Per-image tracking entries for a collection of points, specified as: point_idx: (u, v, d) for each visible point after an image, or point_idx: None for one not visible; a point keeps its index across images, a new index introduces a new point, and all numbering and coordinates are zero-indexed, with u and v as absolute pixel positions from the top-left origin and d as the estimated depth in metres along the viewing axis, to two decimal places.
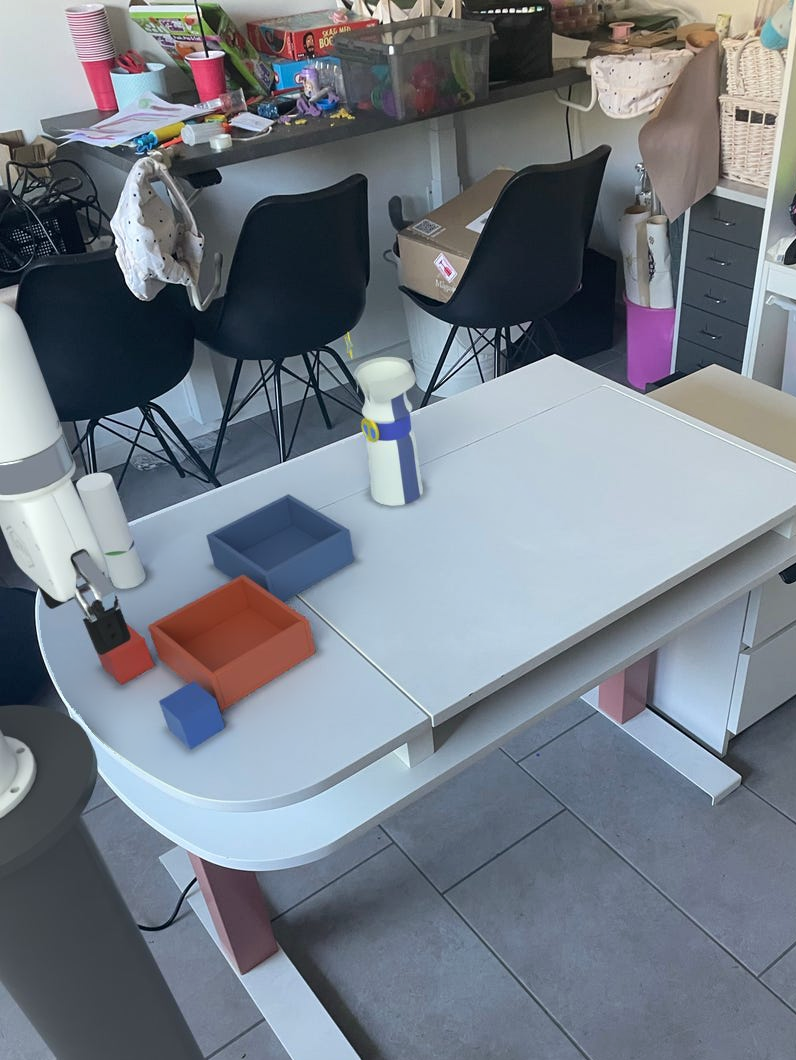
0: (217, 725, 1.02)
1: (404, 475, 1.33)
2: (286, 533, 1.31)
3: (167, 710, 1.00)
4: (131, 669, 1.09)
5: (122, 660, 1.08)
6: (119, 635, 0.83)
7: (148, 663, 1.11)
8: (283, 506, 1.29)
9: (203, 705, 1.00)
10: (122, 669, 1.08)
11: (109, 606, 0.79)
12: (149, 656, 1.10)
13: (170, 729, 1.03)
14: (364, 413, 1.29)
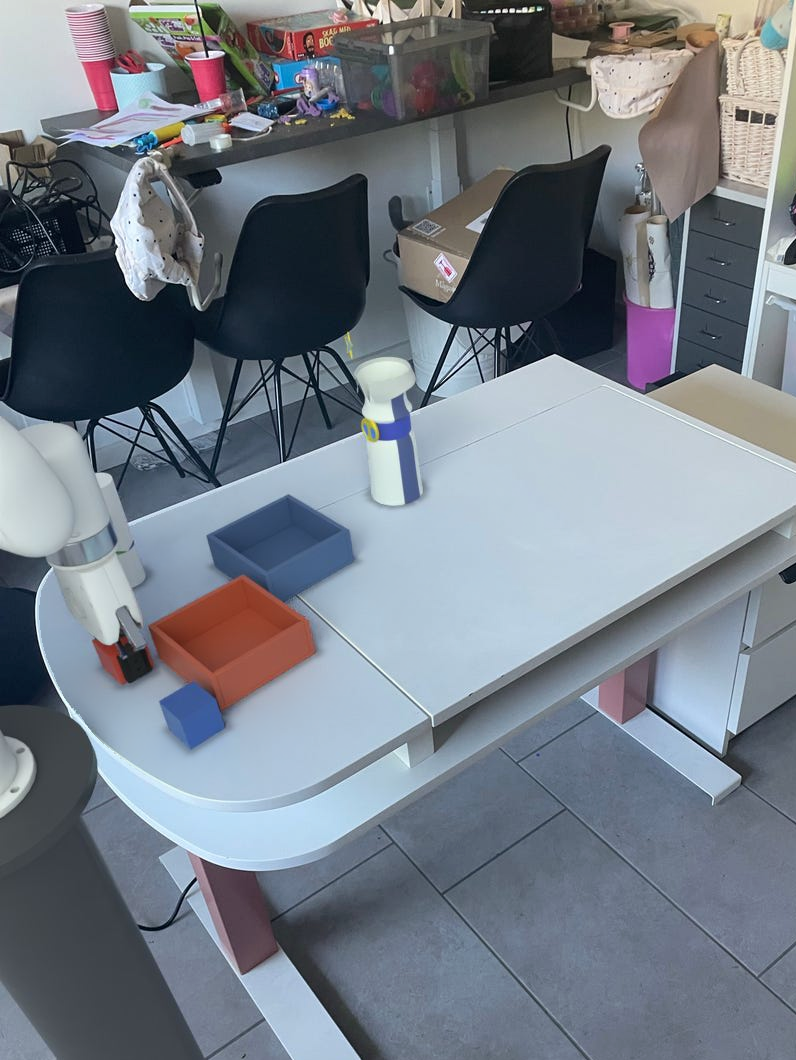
0: (217, 725, 1.02)
1: (404, 475, 1.33)
2: (286, 533, 1.31)
3: (167, 710, 1.00)
4: None
5: None
6: (143, 668, 1.09)
7: None
8: (283, 506, 1.29)
9: (203, 705, 1.00)
10: None
11: None
12: (149, 656, 1.10)
13: (170, 729, 1.03)
14: (364, 413, 1.29)
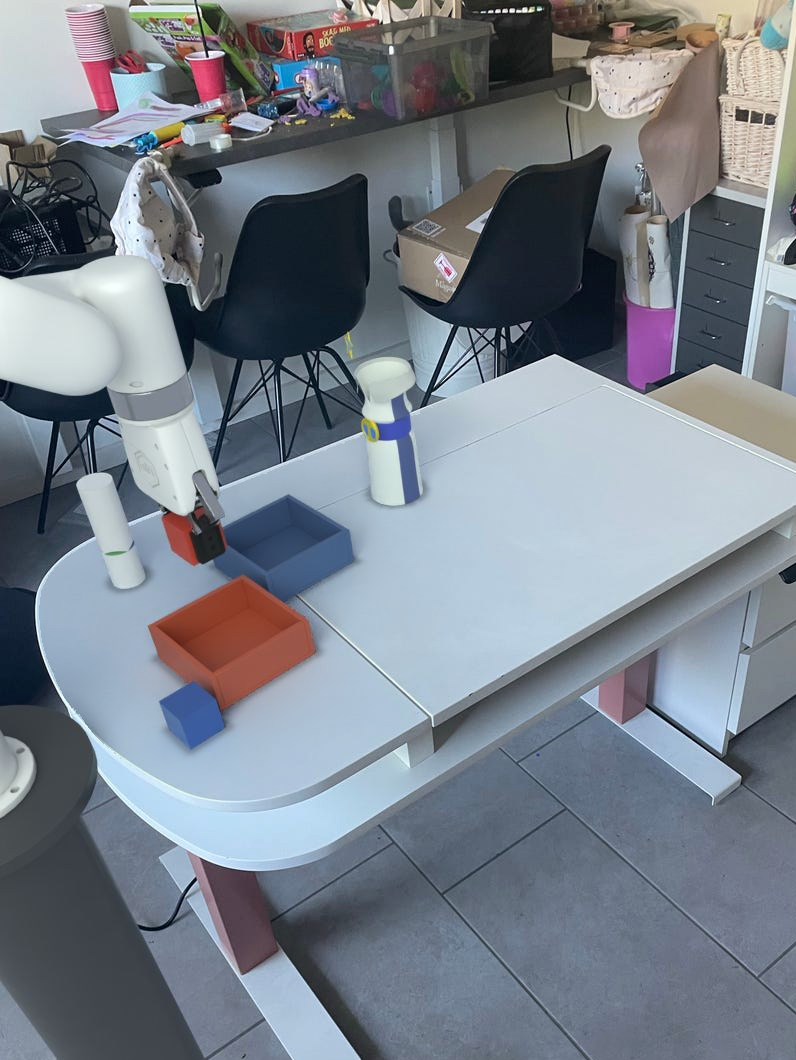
0: (217, 725, 1.02)
1: (404, 475, 1.33)
2: (286, 533, 1.31)
3: (167, 710, 1.00)
4: None
5: None
6: (217, 547, 0.99)
7: None
8: (283, 506, 1.29)
9: (203, 705, 1.00)
10: None
11: (214, 522, 0.95)
12: (223, 536, 1.01)
13: (170, 729, 1.03)
14: (364, 413, 1.29)
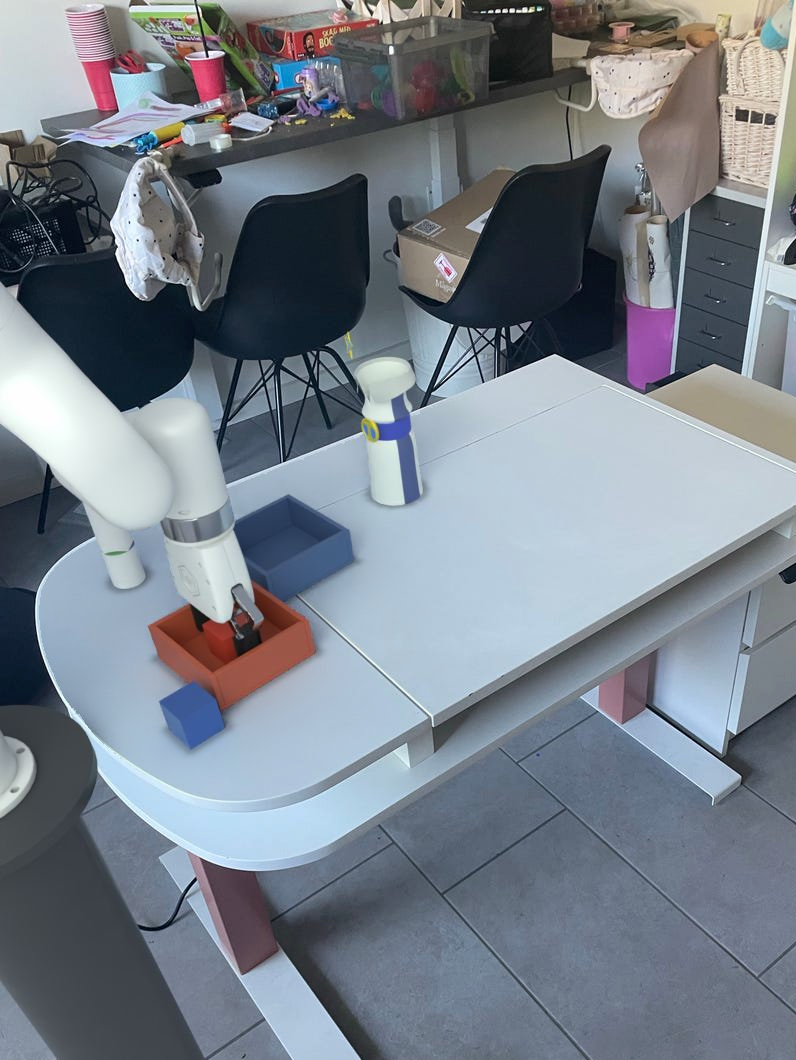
0: (217, 725, 1.02)
1: (404, 475, 1.33)
2: (286, 533, 1.31)
3: (167, 710, 1.00)
4: None
5: (233, 644, 1.08)
6: None
7: None
8: (283, 506, 1.29)
9: (203, 705, 1.00)
10: (233, 653, 1.09)
11: (256, 628, 1.03)
12: None
13: (170, 729, 1.03)
14: (364, 413, 1.29)
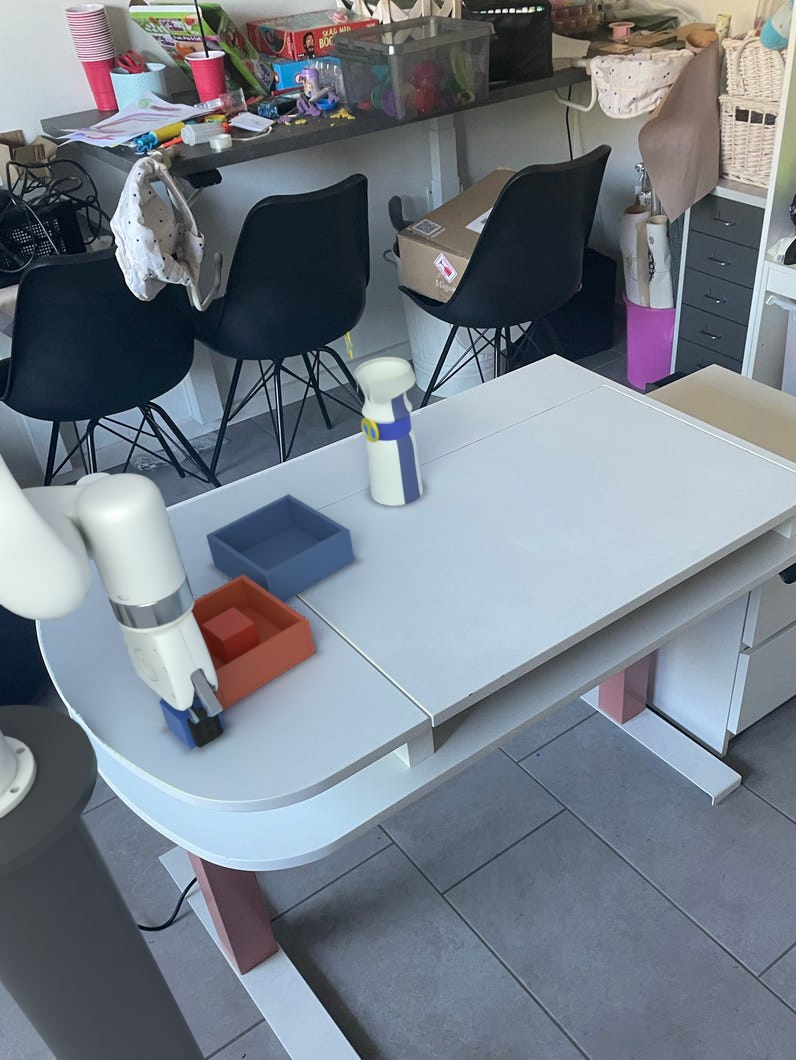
0: None
1: (404, 475, 1.33)
2: (286, 533, 1.31)
3: (167, 710, 1.00)
4: (241, 653, 1.10)
5: (233, 644, 1.08)
6: (215, 731, 1.00)
7: None
8: (283, 506, 1.29)
9: None
10: (233, 653, 1.09)
11: None
12: (258, 640, 1.11)
13: (170, 729, 1.03)
14: (364, 413, 1.29)
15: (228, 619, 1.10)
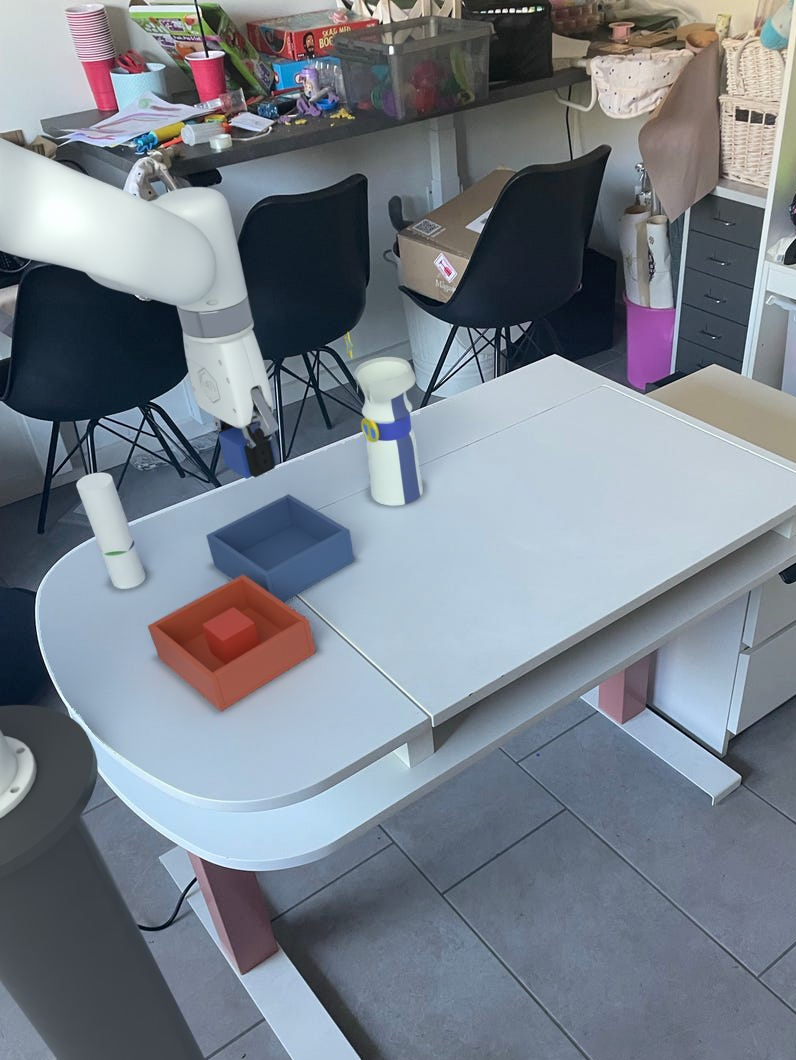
0: None
1: (404, 475, 1.33)
2: (286, 533, 1.31)
3: (226, 440, 1.09)
4: (241, 653, 1.10)
5: (233, 644, 1.08)
6: (269, 461, 1.10)
7: None
8: (283, 506, 1.29)
9: None
10: (233, 653, 1.09)
11: (267, 435, 1.06)
12: (258, 640, 1.11)
13: (227, 465, 1.12)
14: (364, 413, 1.29)
15: (228, 619, 1.10)
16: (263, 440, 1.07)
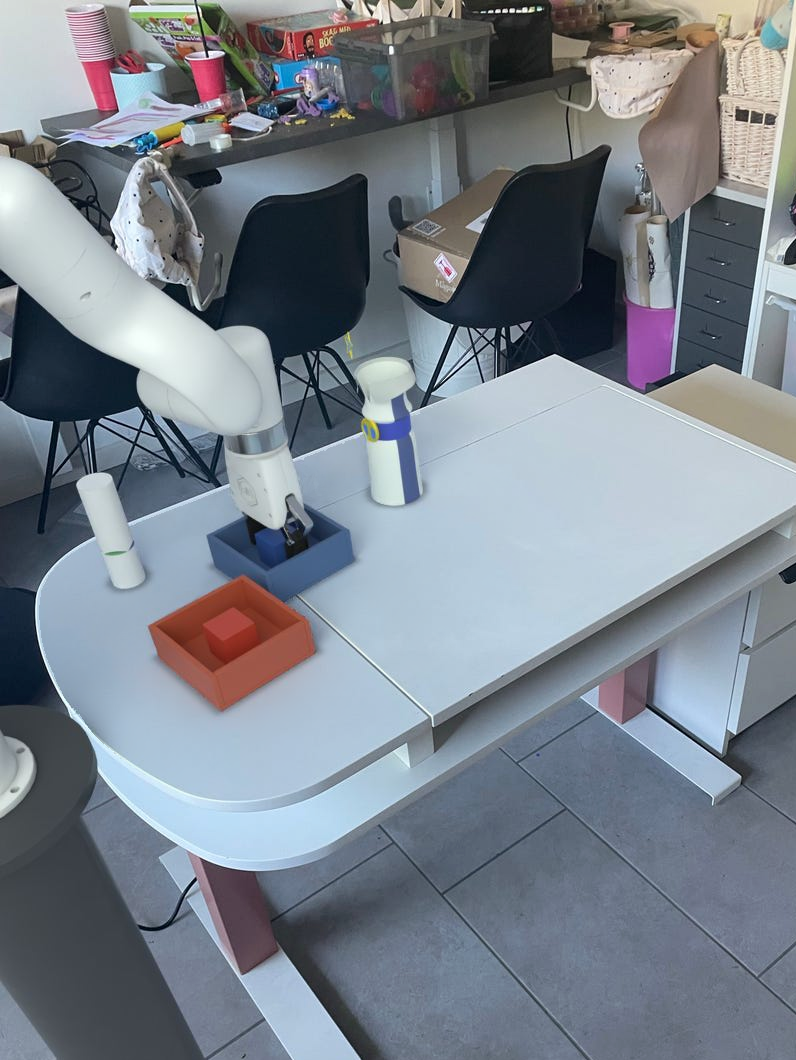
0: None
1: (404, 475, 1.33)
2: None
3: (262, 540, 1.22)
4: (241, 653, 1.10)
5: (233, 644, 1.08)
6: None
7: None
8: None
9: None
10: (233, 653, 1.09)
11: (306, 534, 1.17)
12: (258, 640, 1.11)
13: (262, 560, 1.25)
14: (364, 413, 1.29)
15: (228, 619, 1.10)
16: (301, 539, 1.18)
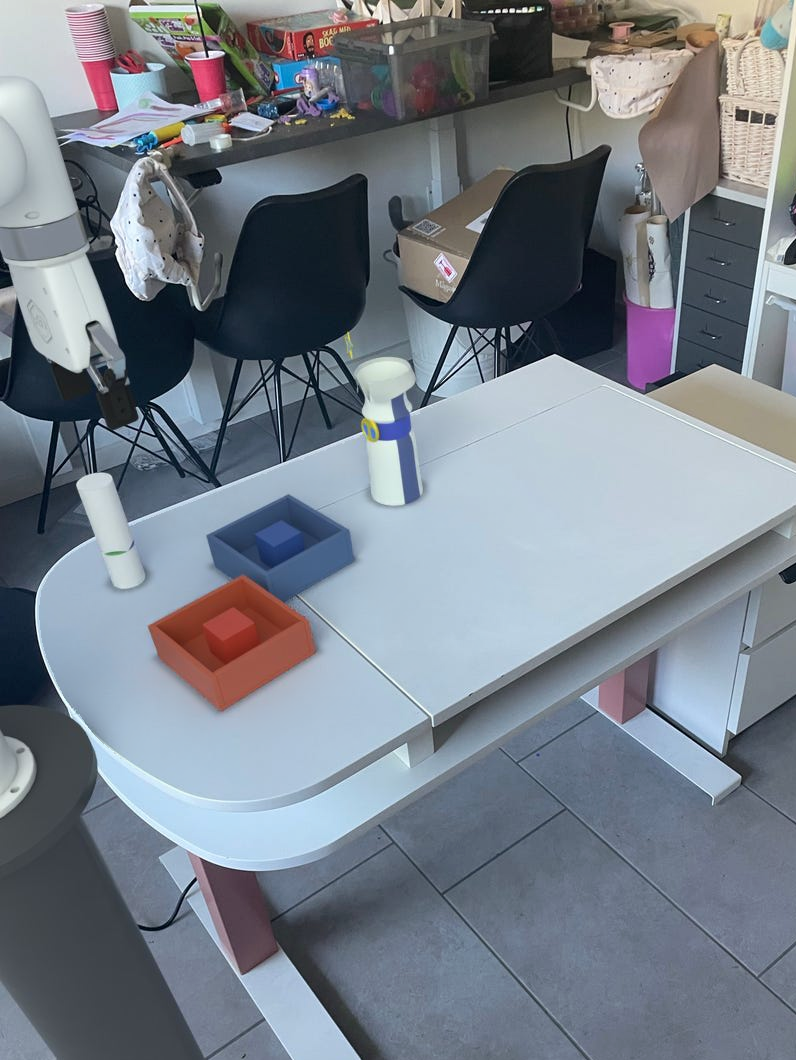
0: None
1: (404, 475, 1.33)
2: None
3: (262, 540, 1.22)
4: (241, 653, 1.10)
5: (233, 644, 1.08)
6: (128, 411, 0.92)
7: None
8: (283, 506, 1.29)
9: (291, 536, 1.22)
10: (233, 653, 1.09)
11: (120, 374, 0.88)
12: (258, 640, 1.11)
13: (262, 560, 1.25)
14: (364, 413, 1.29)
15: (228, 619, 1.10)
16: (117, 384, 0.89)
